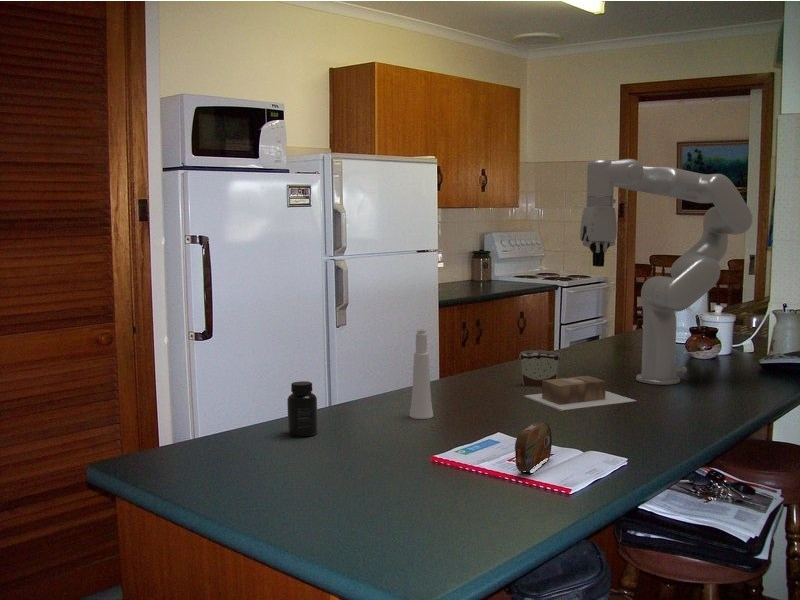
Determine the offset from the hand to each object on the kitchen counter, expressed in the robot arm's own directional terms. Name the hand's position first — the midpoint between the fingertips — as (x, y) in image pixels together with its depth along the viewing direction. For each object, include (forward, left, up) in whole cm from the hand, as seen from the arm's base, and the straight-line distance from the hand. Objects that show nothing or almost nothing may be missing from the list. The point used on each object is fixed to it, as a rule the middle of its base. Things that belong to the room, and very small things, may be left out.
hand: (598, 266), depth 238 cm
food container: (+16, -6, -35) cm, 39 cm away
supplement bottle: (+95, +15, -35) cm, 102 cm away
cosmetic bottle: (+63, +12, -35) cm, 73 cm away
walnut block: (+11, +14, -32) cm, 37 cm away
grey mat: (+16, +14, -35) cm, 41 cm away
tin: (+60, +58, -35) cm, 91 cm away
